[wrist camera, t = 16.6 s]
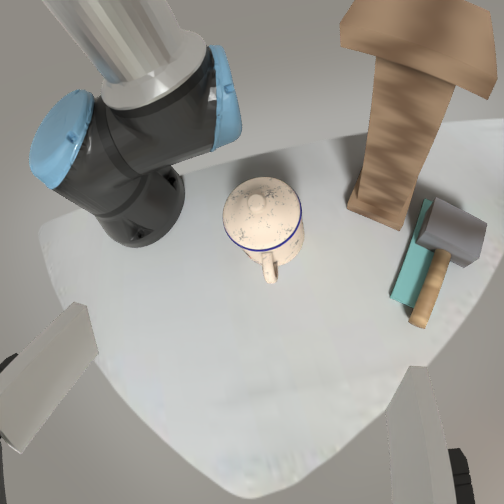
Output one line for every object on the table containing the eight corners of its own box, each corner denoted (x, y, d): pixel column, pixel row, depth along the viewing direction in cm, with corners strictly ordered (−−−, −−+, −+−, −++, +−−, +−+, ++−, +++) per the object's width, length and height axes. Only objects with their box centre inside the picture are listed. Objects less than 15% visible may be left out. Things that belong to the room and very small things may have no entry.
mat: (389, 297, 38) (391, 296, 38) (423, 200, 41) (424, 198, 40) (428, 315, 36) (430, 314, 36) (458, 217, 39) (460, 215, 38)
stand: (337, 212, 43) (339, 23, 15) (360, 156, 45) (373, -27, 16) (403, 240, 40) (497, 79, 12) (422, 181, 41) (489, 11, 13)
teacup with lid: (239, 211, 46) (213, 171, 35) (302, 202, 45) (293, 157, 34) (243, 293, 43) (215, 275, 32) (312, 286, 41) (307, 265, 30)
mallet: (439, 337, 35) (453, 335, 30) (387, 312, 37) (396, 308, 32) (472, 236, 37) (487, 223, 32) (425, 212, 39) (436, 196, 35)
